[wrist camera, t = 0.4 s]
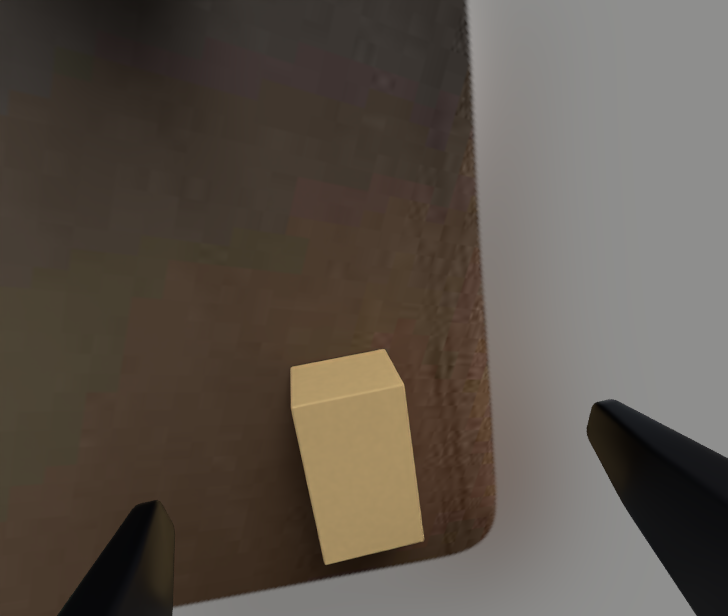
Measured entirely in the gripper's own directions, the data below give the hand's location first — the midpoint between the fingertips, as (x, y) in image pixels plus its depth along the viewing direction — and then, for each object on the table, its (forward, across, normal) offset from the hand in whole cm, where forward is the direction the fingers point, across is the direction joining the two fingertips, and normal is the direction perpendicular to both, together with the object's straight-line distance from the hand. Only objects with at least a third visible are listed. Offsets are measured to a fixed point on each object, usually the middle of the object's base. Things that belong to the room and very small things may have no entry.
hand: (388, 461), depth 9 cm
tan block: (+10, 0, +10) cm, 14 cm away
